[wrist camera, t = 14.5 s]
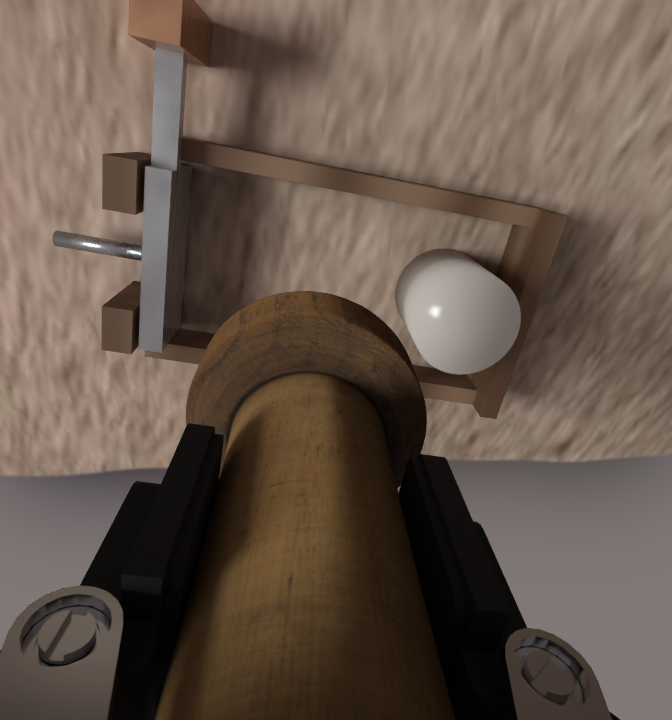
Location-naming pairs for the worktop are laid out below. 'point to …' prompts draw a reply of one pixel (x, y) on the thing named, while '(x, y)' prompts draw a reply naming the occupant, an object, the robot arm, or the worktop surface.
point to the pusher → (161, 167)
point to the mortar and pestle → (307, 525)
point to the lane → (524, 247)
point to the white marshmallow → (457, 311)
